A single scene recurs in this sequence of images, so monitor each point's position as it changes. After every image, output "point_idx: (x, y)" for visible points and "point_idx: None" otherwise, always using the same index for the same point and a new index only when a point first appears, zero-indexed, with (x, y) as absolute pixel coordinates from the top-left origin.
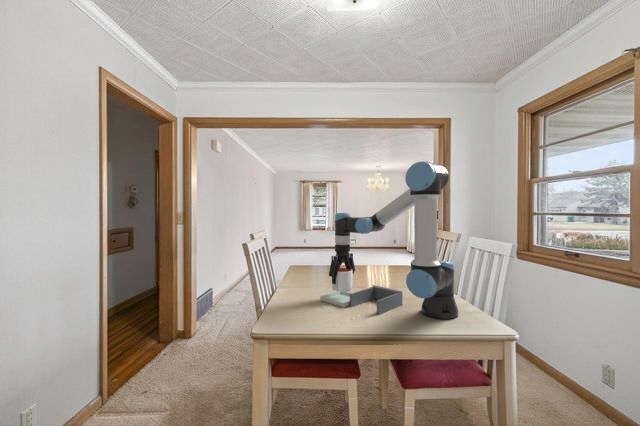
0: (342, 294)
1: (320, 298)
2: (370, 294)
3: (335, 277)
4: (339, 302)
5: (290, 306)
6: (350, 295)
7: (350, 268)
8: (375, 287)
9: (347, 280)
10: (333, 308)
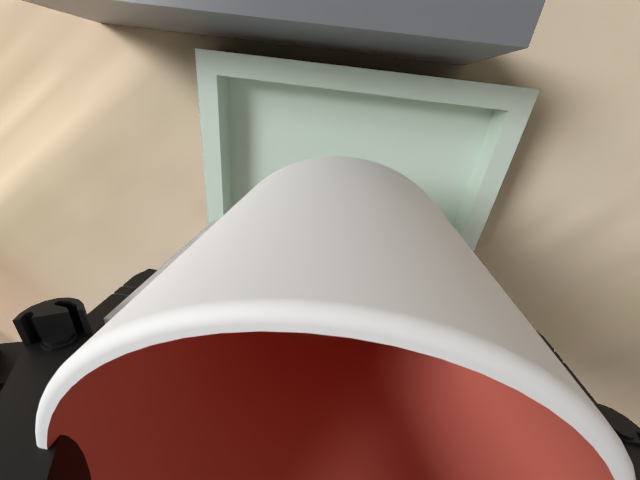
0: None
1: None
2: None
3: (608, 407)
4: (509, 156)
5: (617, 386)
6: (523, 35)
7: (22, 456)
8: None
9: (422, 212)
10: (570, 159)
